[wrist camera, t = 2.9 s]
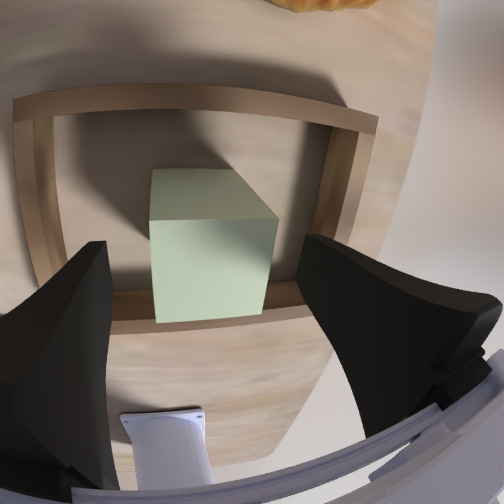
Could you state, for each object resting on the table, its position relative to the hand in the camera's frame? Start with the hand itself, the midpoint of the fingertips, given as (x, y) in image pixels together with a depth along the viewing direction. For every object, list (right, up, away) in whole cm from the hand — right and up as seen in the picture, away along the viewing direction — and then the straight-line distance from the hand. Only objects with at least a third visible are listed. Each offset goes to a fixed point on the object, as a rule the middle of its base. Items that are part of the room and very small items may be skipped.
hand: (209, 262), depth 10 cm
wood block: (-2, +3, +4) cm, 5 cm away
